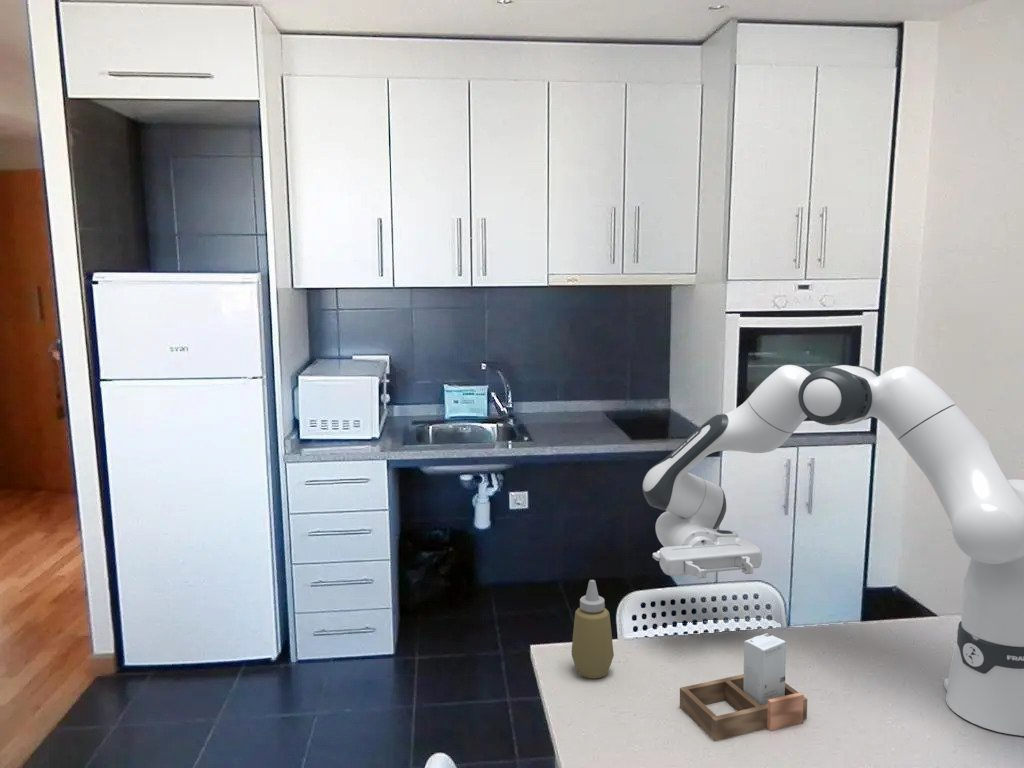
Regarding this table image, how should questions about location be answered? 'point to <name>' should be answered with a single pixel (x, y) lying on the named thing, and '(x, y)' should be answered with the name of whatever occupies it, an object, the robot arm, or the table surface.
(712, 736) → the wooden compartment holder
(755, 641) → the skincare box
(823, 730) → the table surface
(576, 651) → the squeeze bottle
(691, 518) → the robot arm
